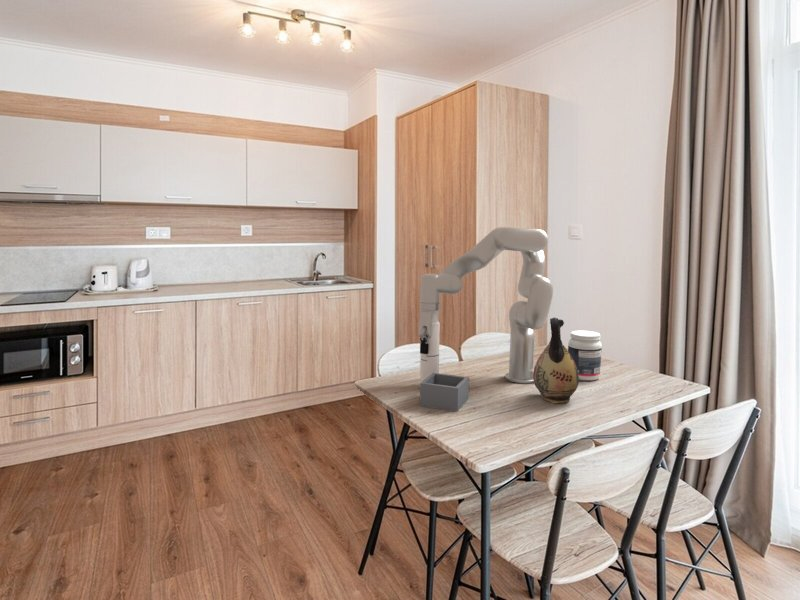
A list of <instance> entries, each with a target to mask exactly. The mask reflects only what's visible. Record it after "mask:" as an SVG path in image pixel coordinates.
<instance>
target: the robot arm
mask: <svg viewBox="0 0 800 600" xmlns="http://www.w3.org/2000/svg"><path fill="white" fill-rule="evenodd" d="M548 243H549V237H548V234H547V233H546V232H545V231H544V230H543V229H540V228H524V227H523V228H521V227H510V226H509V227H507V226H505V227H503V226H499V227H496V228H493V229H492V230H491V231H490V232H489V233H488V234H487V235H485V236H484V237H483V238H482V239H481V240H480V241H478V243H477V244H475V245H474V246H473V247H472V248H471V249H470V250H469V251H467V252H465V253H464V254H462V255H461V256H459V257H458V258H456V259H455V260H453V261H452V262H450V263H449V264H448V265H447V266H446V267H445V268H444V269H443V270H442V271H440V272H439V274H437V273H423V274H422V275H421V277H420V300H419V301H420V303H419V311H420V313H419V320H418V321H419V322H418V338H419V354H428V352H429V344H428V341H429V338H431V337H432V331H433V324H434V323H436V322H438V321H439V312H440V311H441V294H446V295H448V294H449V295H457V294H458V293H460V292H461V291H462V290H463V288H464V282H463V278H464V277H465V276H466V275H468V274H470V273H472V272H475V271H479V270H482V269H484V268H485V267H487V266H488V265H489V264H490V263H491V262H492V261H493V260H494V259H496V257H498V255H500V254H501V253H503V251H510V252H511V251H513V252H520V253H521V256H522V267H521V272H520V276H519V281H518V283H517V284H518V285H517V292H518V294H519V295H520V296H521V297H523V298H525V299H527V301H525V300H518V301H516V302H513V304H511V307H510V309H509V312H508V319H509V328H510V331H509V332H510V334H509V335H510V339H509V366H508V372H507V373H505V375H504V378H505V379H506V381H509V382H513V383H517V384H531V383H533V384H534V380H533V374H534V368H535V365H534V364H535V341H536V333H535V330H536V331H537V330H539V329H542V328H543V326H544V325H545V324H546V323H547V320H548V317H549V315H550V314H549V313H550V309H551V304H552V301H553V296H554V295H553V293H554V287H553V284H552V282H551V281H550V280H549V279H548V278H547V277H545V267H546V255H545V253H544V250H545V248H547V247H548ZM544 327H545V326H544ZM426 330H427V334H428V336H427V335H424V334H425V332H426ZM425 338H427V339H425Z"/></svg>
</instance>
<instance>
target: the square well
mask: <svg viewBox="0 0 800 600" xmlns="http://www.w3.org/2000/svg"><path fill="white" fill-rule="evenodd" d="M469 382H470V377H469V376H462V375H454V374H446V373H440V372H439V373H432V374H431V375H430V376H428V377H427V378H426V379H425V380H424V381H422V382H421V383H420V382H419V406H420V407H425V406H426V407H425V408H431V407H432V408H433V409H437V410H438V409H439V410H445V411H451V412H452V411H453V412H459V411H460V409H462V407H463V406H464V405H465V404H466V403H467V401H468V400H469V396H470V395H469V391H470V390H469V388H470V385H469V384H470V383H469ZM463 404H464V405H463ZM432 408H431V409H432Z"/></svg>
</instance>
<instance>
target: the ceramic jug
mask: <svg viewBox="0 0 800 600" xmlns="http://www.w3.org/2000/svg"><path fill="white" fill-rule="evenodd" d="M549 324H550V330H551V331H550V333H551V337H550V340H549V343H548V344H547V345H546V347H545V348H544V350H543V351H542V352H541V354H540V355H539V357H538V358H537V360H536V362H535V365H534V367H535V368H534V374H533V380H534V382H533V384H534V386H535V388H536V389H537V390H538V392H539V393H540V394H541V396H542V398H543V400H544V401H546V402H549V403H552V404H558V403H559V404H561V403H562V404H563V403H567V402H570V400H571V396H573V394H574V393H576V391H577V389H578V387H579V384H580V383H579V382H580V380H579V376H578V370H577V367H576V364H575V362H574V360H573V358H572V357H571V355H570V353H569V352H568V348H566V346H565V345H564V344H563V342H562V339H561V328H562V327H563V326H564V325H565V322H564V319H559V318H557V317H552V318H549Z"/></svg>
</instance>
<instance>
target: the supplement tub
mask: <svg viewBox="0 0 800 600" xmlns="http://www.w3.org/2000/svg"><path fill="white" fill-rule="evenodd" d="M600 340H601V333H599V332H597V331H592V330H583V329H582V330H573V331H571V332H570V339H569V340H568V346H567V351H568V352H569V353H570V355H571V357H572V358H573V360H574V362H575V364H576V367H577V370H578V376H579V381H585V382H586V381H589V382H590V381H595V380H598V379H599V378H600V377H601V363H602V350H603V349H602V348H603V345H602V342H601V341H600Z"/></svg>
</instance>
